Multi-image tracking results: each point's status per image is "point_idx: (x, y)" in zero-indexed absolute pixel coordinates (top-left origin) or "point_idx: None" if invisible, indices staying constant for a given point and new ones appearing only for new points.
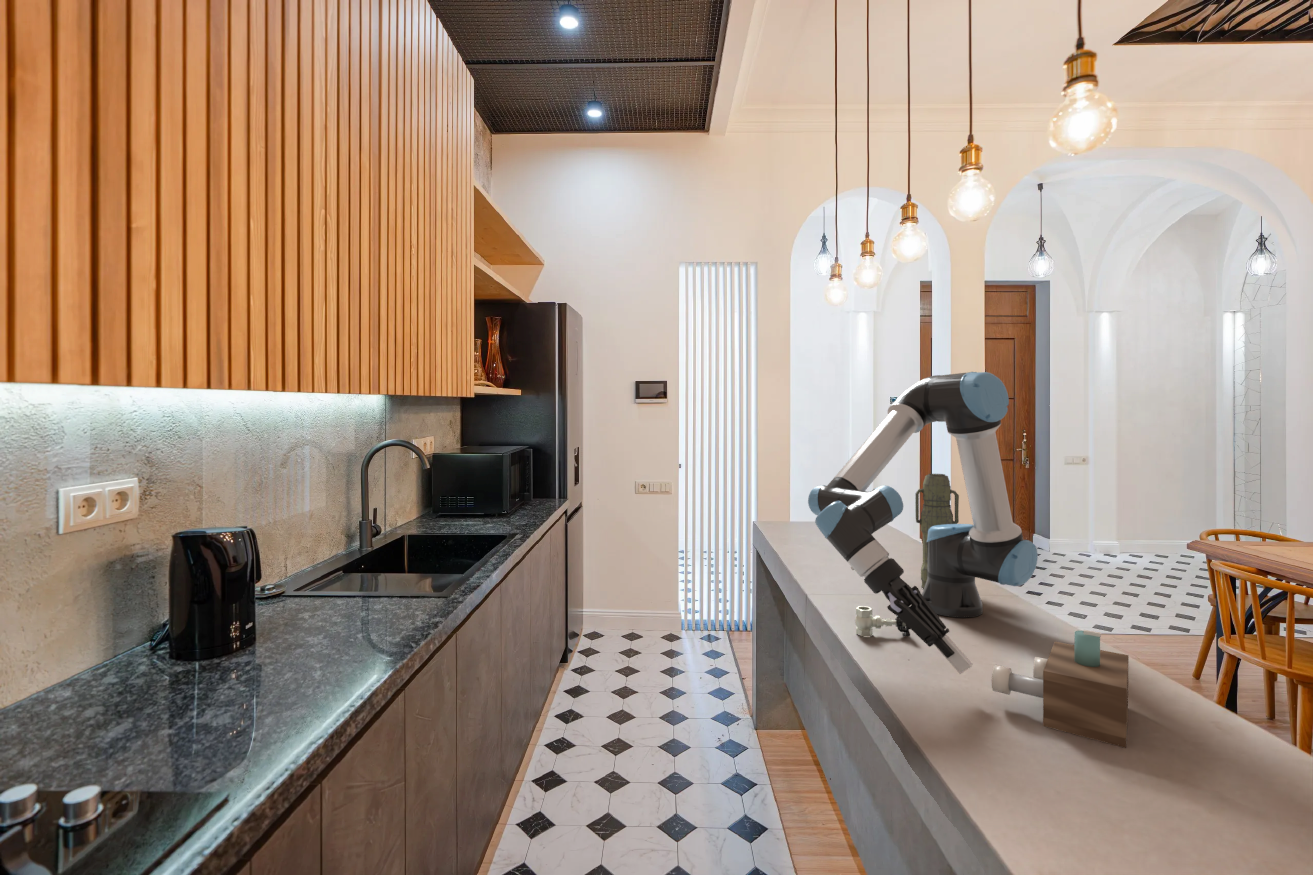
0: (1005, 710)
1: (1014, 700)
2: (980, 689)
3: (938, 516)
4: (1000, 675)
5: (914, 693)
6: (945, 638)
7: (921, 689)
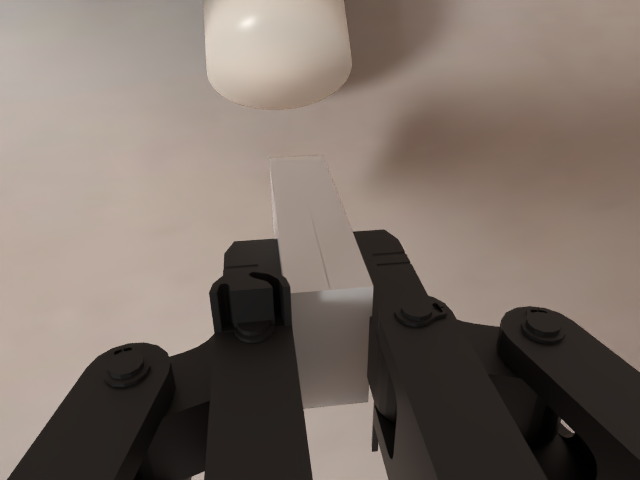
0: None
1: (187, 86)
2: (160, 222)
3: None
4: (336, 6)
5: None
6: (369, 279)
7: (364, 451)
